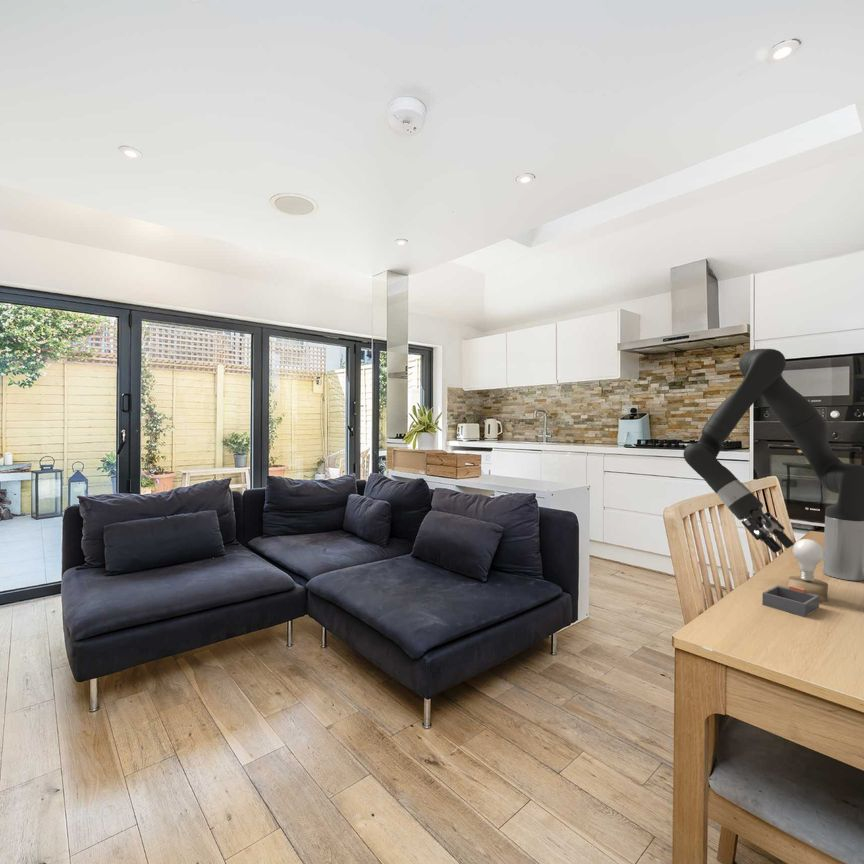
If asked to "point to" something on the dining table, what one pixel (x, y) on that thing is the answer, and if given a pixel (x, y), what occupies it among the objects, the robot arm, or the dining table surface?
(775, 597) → the dark grey open tray
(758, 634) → the dining table surface
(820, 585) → the oak stand
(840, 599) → the dining table surface
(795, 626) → the dining table surface
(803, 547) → the lightbulb
